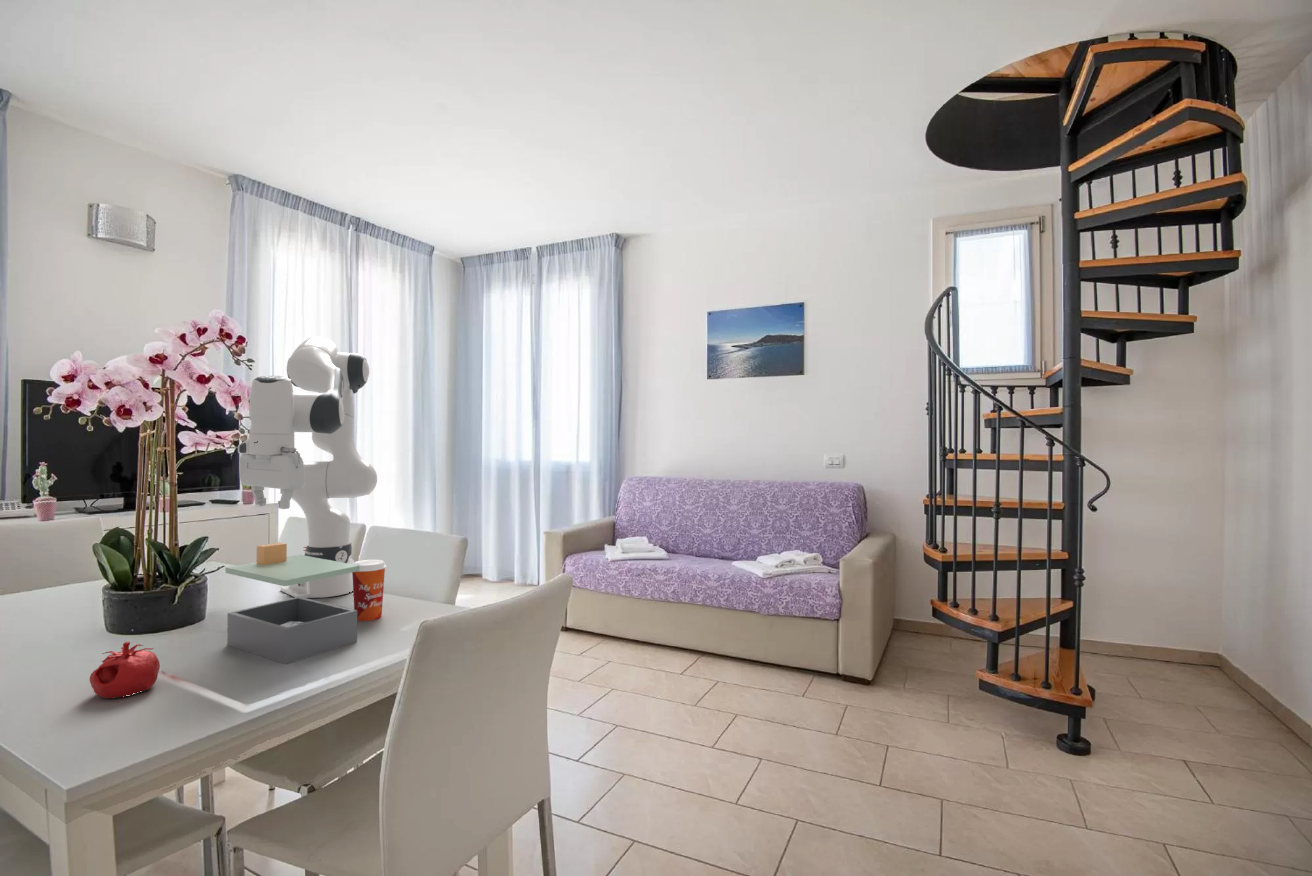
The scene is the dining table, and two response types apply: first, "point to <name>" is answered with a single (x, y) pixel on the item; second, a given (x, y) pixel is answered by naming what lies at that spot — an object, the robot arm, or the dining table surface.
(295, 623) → the steel part
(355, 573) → the coffee cup
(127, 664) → the red tomato
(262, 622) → the tub
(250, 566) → the lid
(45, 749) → the dining table surface
